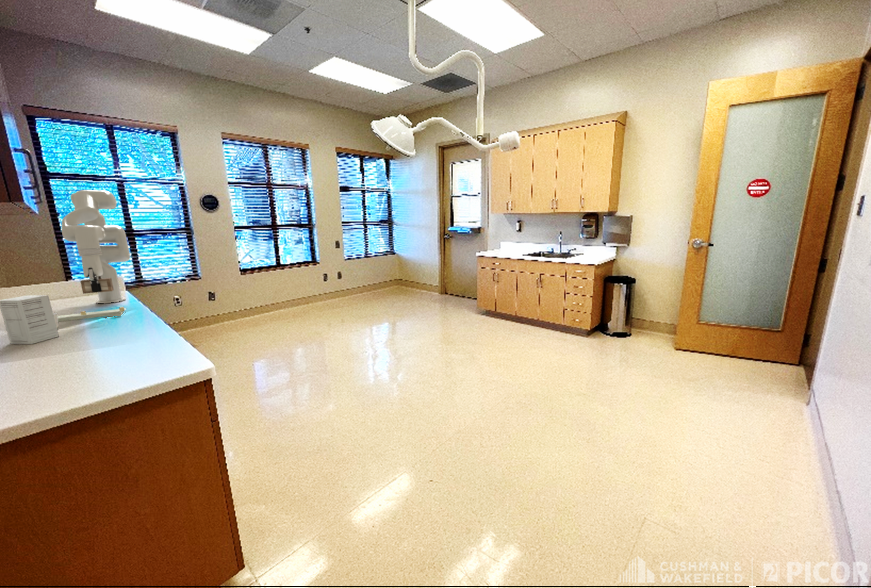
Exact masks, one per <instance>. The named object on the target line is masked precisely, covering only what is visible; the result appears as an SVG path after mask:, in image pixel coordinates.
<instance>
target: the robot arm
mask: <svg viewBox="0 0 871 588" xmlns="http://www.w3.org/2000/svg"><path fill="white" fill-rule="evenodd" d="M70 200H71V203H72V204H73V206H74V210H73V211H71V212H69V213H67V214H66V215H65V216H64V217H62V220H61V233H62V237H63V238H64V240H66V241H68V242H74V243H75V242H76V247H77V251H78V256H79V257H81V264H82V270H83V276H84V278H89V279H90V283H91V288H92V292H97V297H98V299H97V300H96V301H95V303H96V304H98V303H104V304H112V303H111V302H114V303H119V301H120V302H123V301H126V299H127V298H126V297H125V296H122V293H121V288H120V283H119V282H120V281H119V279H118V273H117V270H116V268H115V267H114V266H112V265H111V263H122V262H123V263H124V262H128V261H129V260H130V259H131V258H130V257H131V255H130V254H131V253H130V250H129V243H128V239H127V238H128V237H127V234H126V232H125V229H124V228H123V226H119V225H107V223H106V220H105V219H106V218H105V216H104V215H103V214H102V213H101V212H100V211H99V210H114V209H115V208H116V207H117V198H116V197H115V195H114V194H113V193H112V192H110V191H108V190H97V189H96V190H94V189H93V190H92V189H82V190H81V189H80V190H78V191H76V192H74V193H72V194H71V195H70ZM101 244H112V245H101ZM114 244H116V245H114ZM109 263H110V264H109ZM102 278H111V279H112V284H113V289H114V290H113V291H109V292H101V291H102V290H101V285H100V283H99V279H102Z"/></svg>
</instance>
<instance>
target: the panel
mask: <svg viewBox="0 0 871 588" xmlns="http://www.w3.org/2000/svg"><path fill="white" fill-rule="evenodd" d="M126 309H127V308H125V307H124V306H120V307H118V309H117V308H116V309H109V310H99V311H89V312H86V310H82V311H79V312H80V313H70V314H64V315H63V314H62V315H58V323H59V322H66V321H67V322H68V321H74V320H75V321H76V320H83V319H91V318H92V319H93V318H105V319H108V318H107V317H113V316H121V315H122V314H123V313H124V312H126ZM124 314H125V313H124ZM124 314H123V315H124ZM123 315H122V316H123Z"/></svg>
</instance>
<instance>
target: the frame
mask: <svg viewBox="0 0 871 588" xmlns="http://www.w3.org/2000/svg"><path fill="white" fill-rule="evenodd" d="M79 282H80V287H81V289H82V290H81V291H82V294H83V295H85V294H86V295H87V294H96V293H97V294H98V292H92V288H91V283H90V278H89V279H82V280H80V281H79ZM99 283H100V285H101V290H102V291H101V292H109V291H113V290H114V289H113V284H112V279H111V278H102V279H99Z"/></svg>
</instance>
